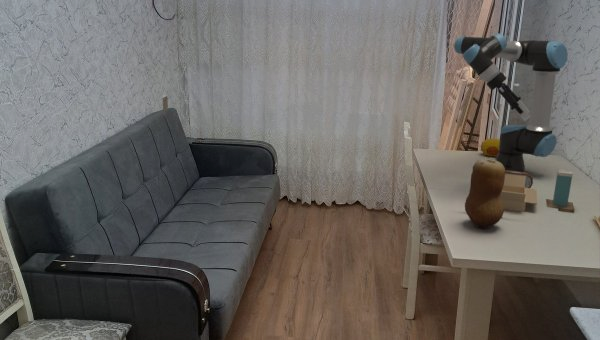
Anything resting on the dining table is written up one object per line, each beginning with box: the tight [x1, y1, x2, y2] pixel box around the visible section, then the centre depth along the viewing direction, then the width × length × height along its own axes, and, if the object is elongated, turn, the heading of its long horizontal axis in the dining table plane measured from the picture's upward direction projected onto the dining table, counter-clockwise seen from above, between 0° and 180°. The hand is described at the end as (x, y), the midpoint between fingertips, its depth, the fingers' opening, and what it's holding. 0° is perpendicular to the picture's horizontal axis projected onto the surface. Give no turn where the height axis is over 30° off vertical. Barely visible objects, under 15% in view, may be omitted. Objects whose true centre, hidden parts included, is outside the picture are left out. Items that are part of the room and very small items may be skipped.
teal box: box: [552, 168, 574, 207], centre depth 210 cm, size 5×5×14 cm
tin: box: [505, 170, 534, 189], centre depth 233 cm, size 15×3×8 cm, turn 71°
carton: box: [500, 174, 538, 213], centre depth 215 cm, size 23×26×9 cm
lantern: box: [466, 138, 500, 158], centre depth 291 cm, size 10×10×30 cm
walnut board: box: [545, 198, 575, 214], centre depth 212 cm, size 10×10×1 cm
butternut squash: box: [464, 158, 505, 229], centre depth 188 cm, size 14×13×25 cm
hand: (527, 116), depth 212 cm, fingers open, 13 cm apart
